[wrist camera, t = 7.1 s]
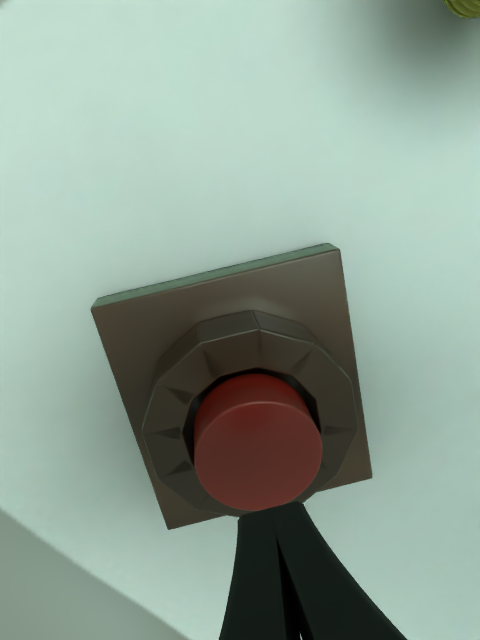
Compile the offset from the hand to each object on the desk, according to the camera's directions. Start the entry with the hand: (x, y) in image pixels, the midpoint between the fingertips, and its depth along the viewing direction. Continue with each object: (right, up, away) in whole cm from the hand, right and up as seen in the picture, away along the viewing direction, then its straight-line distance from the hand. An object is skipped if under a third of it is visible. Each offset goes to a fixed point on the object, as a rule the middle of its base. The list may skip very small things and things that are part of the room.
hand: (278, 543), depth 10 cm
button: (0, +1, +4) cm, 5 cm away
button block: (-1, +2, +7) cm, 7 cm away
